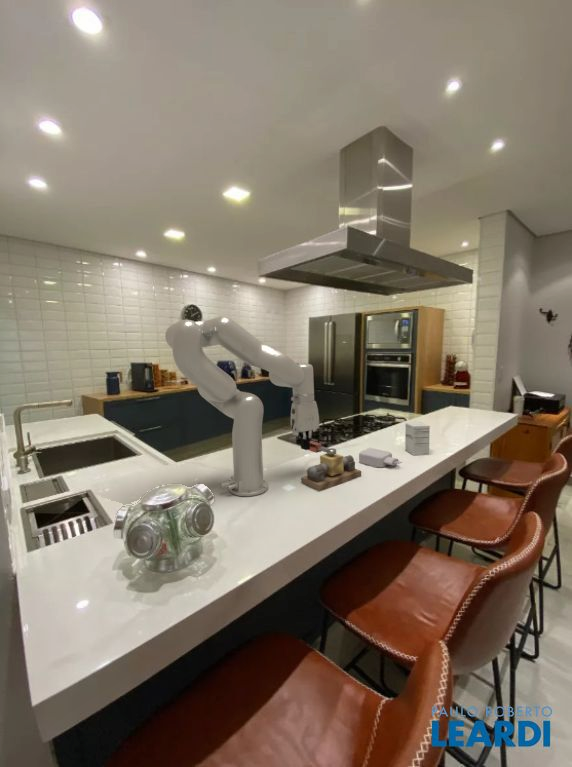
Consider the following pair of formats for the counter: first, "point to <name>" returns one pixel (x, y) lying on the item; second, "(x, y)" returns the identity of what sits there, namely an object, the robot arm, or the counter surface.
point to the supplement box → (417, 438)
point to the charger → (377, 458)
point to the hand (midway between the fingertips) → (305, 448)
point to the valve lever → (320, 448)
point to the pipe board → (331, 480)
